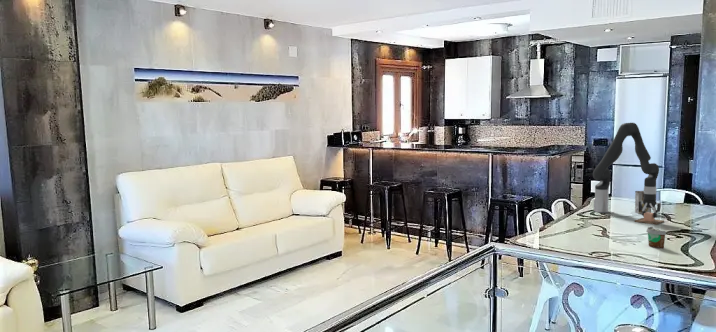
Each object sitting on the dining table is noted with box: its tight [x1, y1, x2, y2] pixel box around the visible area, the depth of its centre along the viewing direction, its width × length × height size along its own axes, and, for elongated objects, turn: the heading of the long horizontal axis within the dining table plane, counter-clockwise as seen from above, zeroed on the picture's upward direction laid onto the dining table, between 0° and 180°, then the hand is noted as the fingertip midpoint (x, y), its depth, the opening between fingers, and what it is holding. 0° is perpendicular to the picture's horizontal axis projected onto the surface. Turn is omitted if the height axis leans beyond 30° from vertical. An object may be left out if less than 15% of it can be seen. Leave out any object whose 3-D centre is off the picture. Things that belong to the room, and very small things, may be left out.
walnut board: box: [634, 217, 665, 226], centre depth 363 cm, size 14×12×1 cm
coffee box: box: [634, 190, 652, 215], centre depth 393 cm, size 9×6×16 cm
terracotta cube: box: [643, 212, 655, 222], centre depth 363 cm, size 5×5×5 cm
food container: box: [646, 226, 667, 249], centre depth 302 cm, size 12×6×10 cm, turn 5°
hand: (649, 217), depth 363 cm, fingers open, 6 cm apart
